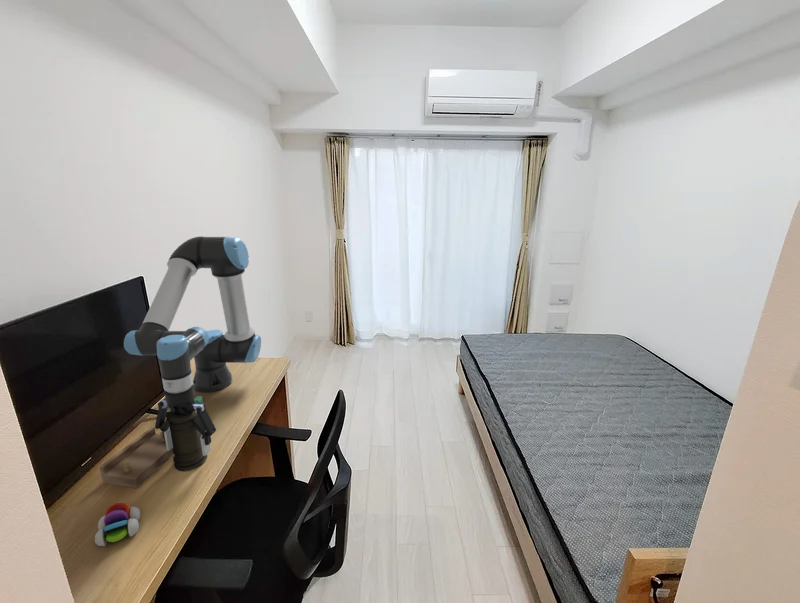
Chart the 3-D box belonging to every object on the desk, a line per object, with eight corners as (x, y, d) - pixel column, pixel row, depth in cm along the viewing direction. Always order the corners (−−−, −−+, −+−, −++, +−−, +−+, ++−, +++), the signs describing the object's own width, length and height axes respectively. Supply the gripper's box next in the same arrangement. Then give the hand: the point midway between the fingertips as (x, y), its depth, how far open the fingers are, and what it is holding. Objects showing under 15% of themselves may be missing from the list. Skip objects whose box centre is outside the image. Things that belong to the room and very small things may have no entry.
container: (213, 455, 121) (206, 406, 116) (191, 474, 113) (182, 422, 108) (190, 449, 124) (182, 401, 118) (167, 468, 115) (157, 416, 110)
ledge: (154, 440, 127) (151, 425, 125) (183, 445, 126) (181, 429, 124) (103, 482, 109) (98, 465, 107) (136, 488, 108) (133, 470, 106)
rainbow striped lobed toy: (142, 511, 100) (137, 489, 98) (138, 540, 92) (133, 516, 90) (102, 523, 97) (96, 500, 94) (94, 555, 88) (88, 530, 86)
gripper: (132, 389, 109) (145, 453, 115) (207, 398, 105) (216, 463, 112) (152, 377, 116) (163, 437, 122) (223, 385, 113) (231, 447, 119)
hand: (189, 450), depth 117 cm, fingers open, 11 cm apart
